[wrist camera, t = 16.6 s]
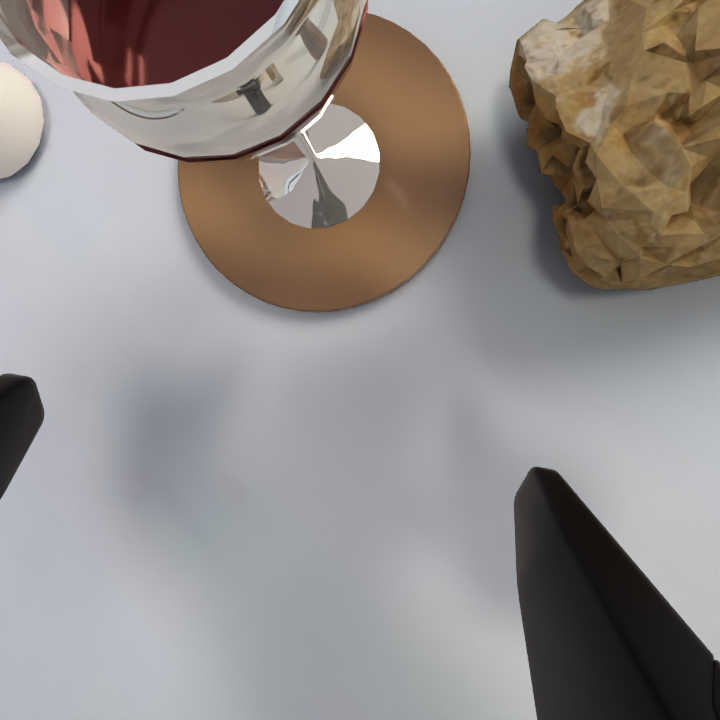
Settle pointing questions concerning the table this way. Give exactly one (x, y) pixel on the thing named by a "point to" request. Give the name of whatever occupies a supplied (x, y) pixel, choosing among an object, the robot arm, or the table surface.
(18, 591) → the table surface
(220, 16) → the wineglass
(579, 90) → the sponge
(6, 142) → the lidless jar
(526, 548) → the robot arm
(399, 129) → the coaster
